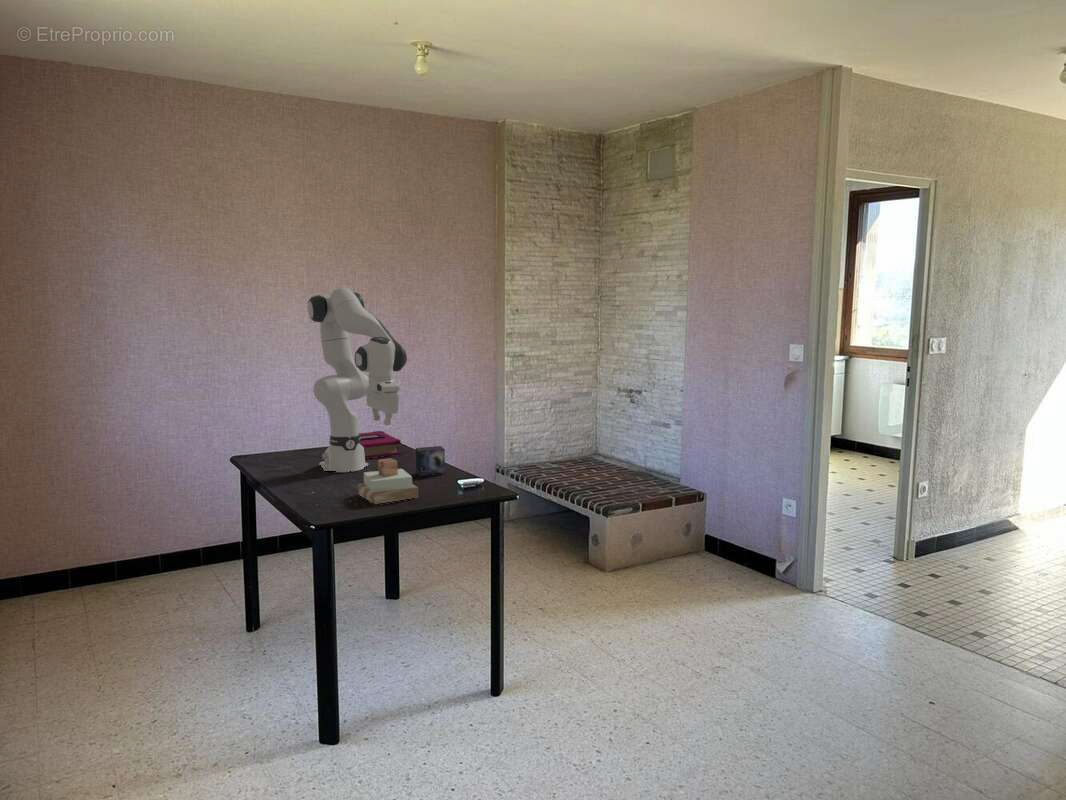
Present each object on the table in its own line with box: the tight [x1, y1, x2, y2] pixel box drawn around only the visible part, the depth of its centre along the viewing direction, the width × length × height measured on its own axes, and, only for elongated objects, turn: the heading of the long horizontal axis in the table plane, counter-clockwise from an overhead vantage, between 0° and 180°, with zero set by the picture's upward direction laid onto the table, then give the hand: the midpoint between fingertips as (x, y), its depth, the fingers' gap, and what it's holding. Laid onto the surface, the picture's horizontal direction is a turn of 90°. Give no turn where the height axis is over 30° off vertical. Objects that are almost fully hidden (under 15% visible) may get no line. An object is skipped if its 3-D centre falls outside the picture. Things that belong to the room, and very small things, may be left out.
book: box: [359, 430, 402, 458], centre depth 346 cm, size 21×28×8 cm
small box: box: [415, 445, 446, 477], centre depth 303 cm, size 11×6×10 cm, turn 112°
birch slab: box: [357, 483, 419, 505], centre depth 270 cm, size 16×16×4 cm
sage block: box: [363, 468, 413, 493], centre depth 270 cm, size 14×14×4 cm
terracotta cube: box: [377, 457, 399, 477], centre depth 269 cm, size 5×5×5 cm
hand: (382, 422), depth 270 cm, fingers open, 8 cm apart
